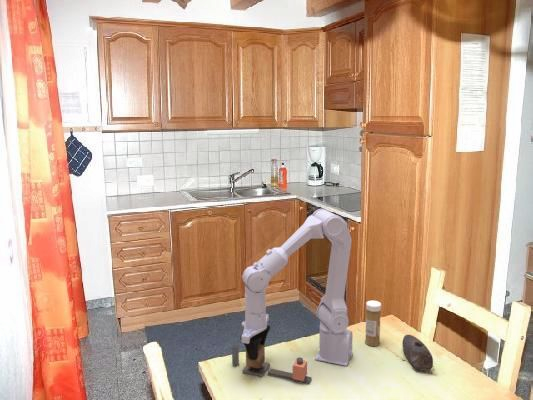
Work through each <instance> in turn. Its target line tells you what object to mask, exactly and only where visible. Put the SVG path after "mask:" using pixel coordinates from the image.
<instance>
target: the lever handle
mask: <svg viewBox="0 0 533 400" xmlns="http://www.w3.org/2000/svg"><path fill="white" fill-rule="evenodd" d="M292 373H293V379H295V380H300V381H304V379H305V377H306V376H308V360H304V358H303V357H301V356H300V357H296V359H295V361H294V362H293V363H292Z"/></svg>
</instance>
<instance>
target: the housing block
mask: <svg viewBox="0 0 533 400" xmlns="http://www.w3.org/2000/svg"><path fill="white" fill-rule="evenodd" d="M265 345H266V344H265ZM265 345H260V344H259V348H258V356H257V359H256V360H251V359H249V357H248V353H247V350H246V349H245V366H248V367H253V368H258V369H260V367H261V366H262V365H263V363H264V362H266V361H265V359H266V353H265V352H266V350H265V347H266V346H265Z"/></svg>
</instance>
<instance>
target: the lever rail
mask: <svg viewBox="0 0 533 400" xmlns="http://www.w3.org/2000/svg"><path fill="white" fill-rule="evenodd" d="M267 376H269V377H274V378H277V379H281V380H287V381H292V382H295V383H296V382H297V383H300V384H306V385H310V384H311V382H312V381H313V380H312V379H313V378H312V376H308V375H306V377H305V379H304V381H300V380H295V379H293V372H290V371H284V370H279V369H275V368H271V367H269V369H268V370H267Z"/></svg>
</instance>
